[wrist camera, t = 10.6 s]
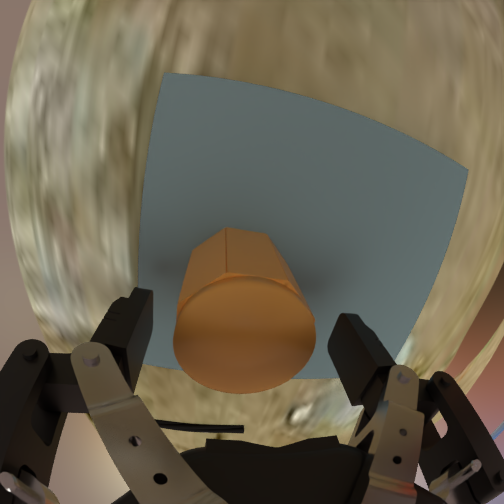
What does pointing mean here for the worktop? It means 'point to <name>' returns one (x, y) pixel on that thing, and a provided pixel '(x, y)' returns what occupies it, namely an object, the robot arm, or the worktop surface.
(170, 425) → the black thin rod
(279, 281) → the cap
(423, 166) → the board
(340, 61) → the worktop surface
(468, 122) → the worktop surface
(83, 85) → the worktop surface
